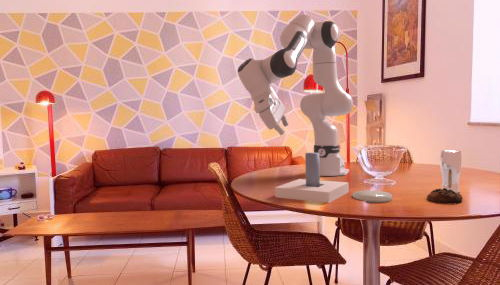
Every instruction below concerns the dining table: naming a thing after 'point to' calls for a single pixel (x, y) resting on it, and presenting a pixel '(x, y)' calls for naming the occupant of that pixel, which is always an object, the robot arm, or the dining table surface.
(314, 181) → the slate peg
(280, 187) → the pocket block
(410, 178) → the dining table surface
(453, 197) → the bread roll
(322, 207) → the dining table surface
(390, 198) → the sage trivet
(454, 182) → the white tall piece
